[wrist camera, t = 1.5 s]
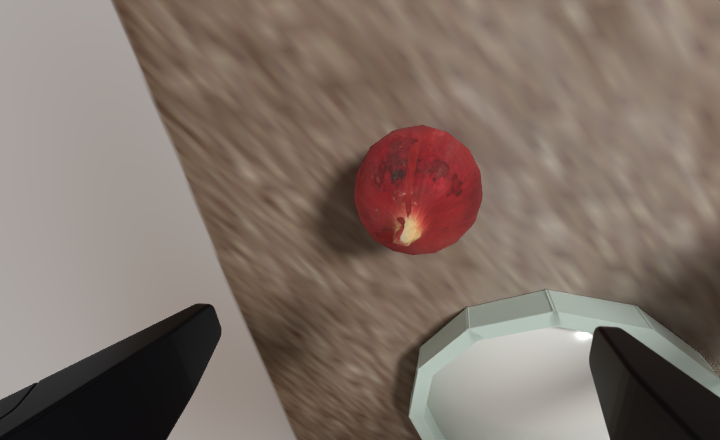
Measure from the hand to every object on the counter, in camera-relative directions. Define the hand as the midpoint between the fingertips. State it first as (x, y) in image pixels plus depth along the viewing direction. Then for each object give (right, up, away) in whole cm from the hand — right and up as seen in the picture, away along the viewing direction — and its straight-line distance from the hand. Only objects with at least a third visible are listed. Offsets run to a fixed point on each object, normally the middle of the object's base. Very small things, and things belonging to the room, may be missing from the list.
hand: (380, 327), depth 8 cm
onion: (+3, +6, +12) cm, 13 cm away
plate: (+12, -10, +16) cm, 23 cm away
